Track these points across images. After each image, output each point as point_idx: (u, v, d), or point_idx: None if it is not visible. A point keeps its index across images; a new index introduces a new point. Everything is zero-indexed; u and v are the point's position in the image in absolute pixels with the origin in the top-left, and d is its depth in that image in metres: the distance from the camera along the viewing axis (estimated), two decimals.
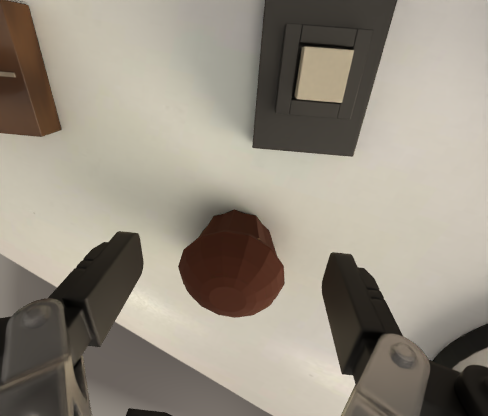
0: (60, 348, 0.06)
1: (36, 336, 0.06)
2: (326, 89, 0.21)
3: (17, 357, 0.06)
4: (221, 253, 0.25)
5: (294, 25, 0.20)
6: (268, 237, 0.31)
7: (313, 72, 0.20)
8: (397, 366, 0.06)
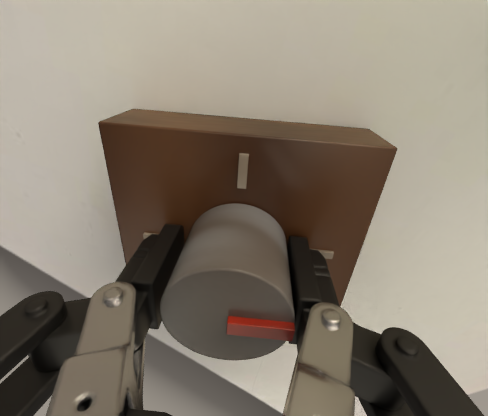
0: (126, 333, 0.07)
1: (118, 314, 0.07)
2: None
3: (92, 331, 0.07)
4: None
5: None
6: None
7: None
8: (323, 328, 0.07)
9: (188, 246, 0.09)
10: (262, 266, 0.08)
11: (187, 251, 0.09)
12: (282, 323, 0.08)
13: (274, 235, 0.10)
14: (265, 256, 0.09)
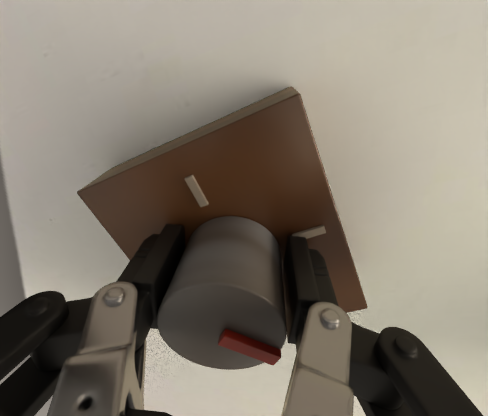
0: (127, 333, 0.07)
1: (120, 314, 0.07)
2: None
3: (93, 331, 0.07)
4: None
5: None
6: None
7: None
8: (321, 327, 0.07)
9: (203, 250, 0.10)
10: (274, 294, 0.09)
11: (203, 255, 0.09)
12: (270, 347, 0.09)
13: (279, 262, 0.11)
14: (275, 284, 0.09)
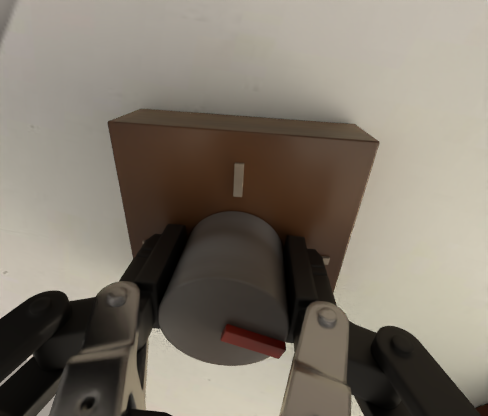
0: (129, 333, 0.07)
1: (123, 313, 0.07)
2: None
3: (96, 330, 0.07)
4: None
5: None
6: None
7: None
8: (319, 326, 0.07)
9: (200, 246, 0.09)
10: (273, 285, 0.08)
11: (199, 251, 0.09)
12: (274, 340, 0.09)
13: (279, 254, 0.11)
14: (275, 275, 0.09)
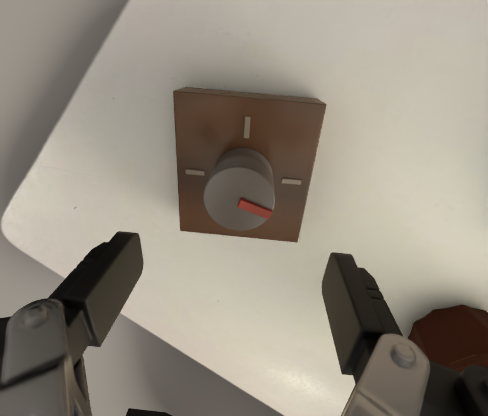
0: (60, 348, 0.06)
1: (36, 336, 0.06)
2: None
3: (17, 357, 0.06)
4: None
5: None
6: None
7: None
8: (397, 366, 0.06)
9: (226, 160, 0.17)
10: (266, 176, 0.16)
11: (226, 161, 0.17)
12: (266, 209, 0.16)
13: (270, 171, 0.18)
14: (267, 174, 0.17)
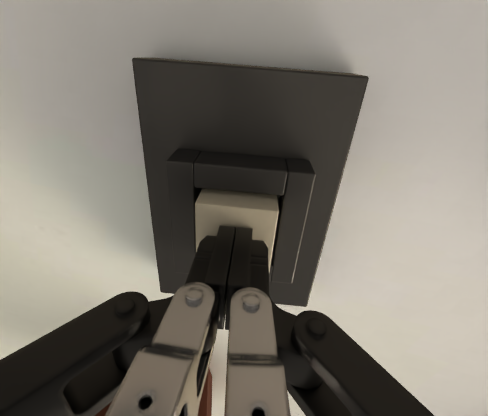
0: (196, 339, 0.07)
1: (204, 314, 0.07)
2: None
3: (169, 326, 0.07)
4: None
5: (179, 164, 0.12)
6: None
7: None
8: (240, 310, 0.07)
9: None
10: None
11: None
12: None
13: None
14: None
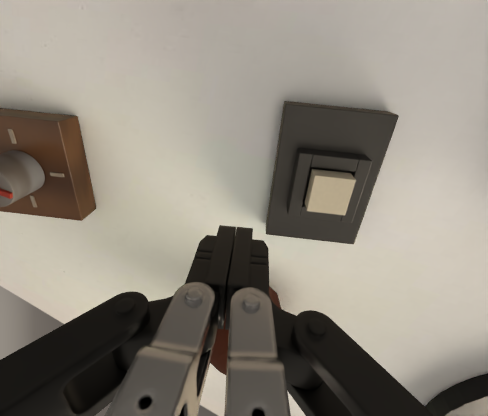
0: (196, 339, 0.07)
1: (204, 314, 0.07)
2: (332, 205, 0.24)
3: (169, 326, 0.07)
4: None
5: (306, 155, 0.24)
6: (277, 303, 0.35)
7: (321, 193, 0.24)
8: (240, 310, 0.07)
9: None
10: (4, 169, 0.24)
11: None
12: (8, 192, 0.24)
13: (28, 166, 0.26)
14: (10, 168, 0.24)
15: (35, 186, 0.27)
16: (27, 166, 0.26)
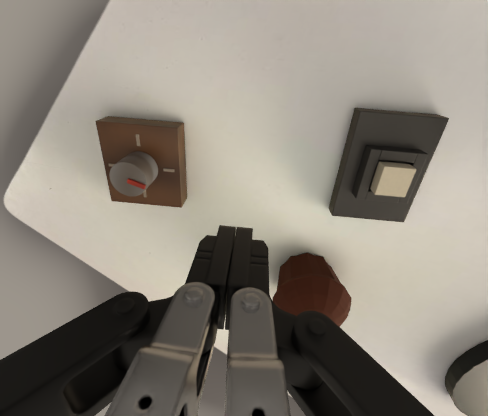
0: (196, 339, 0.07)
1: (204, 314, 0.07)
2: (395, 189, 0.31)
3: (169, 326, 0.07)
4: (312, 291, 0.36)
5: (376, 150, 0.31)
6: (334, 274, 0.42)
7: (388, 180, 0.31)
8: (240, 310, 0.07)
9: (123, 158, 0.32)
10: (141, 166, 0.31)
11: (122, 159, 0.31)
12: (143, 184, 0.31)
13: (151, 164, 0.33)
14: (143, 165, 0.31)
15: (153, 179, 0.34)
16: (150, 164, 0.33)
